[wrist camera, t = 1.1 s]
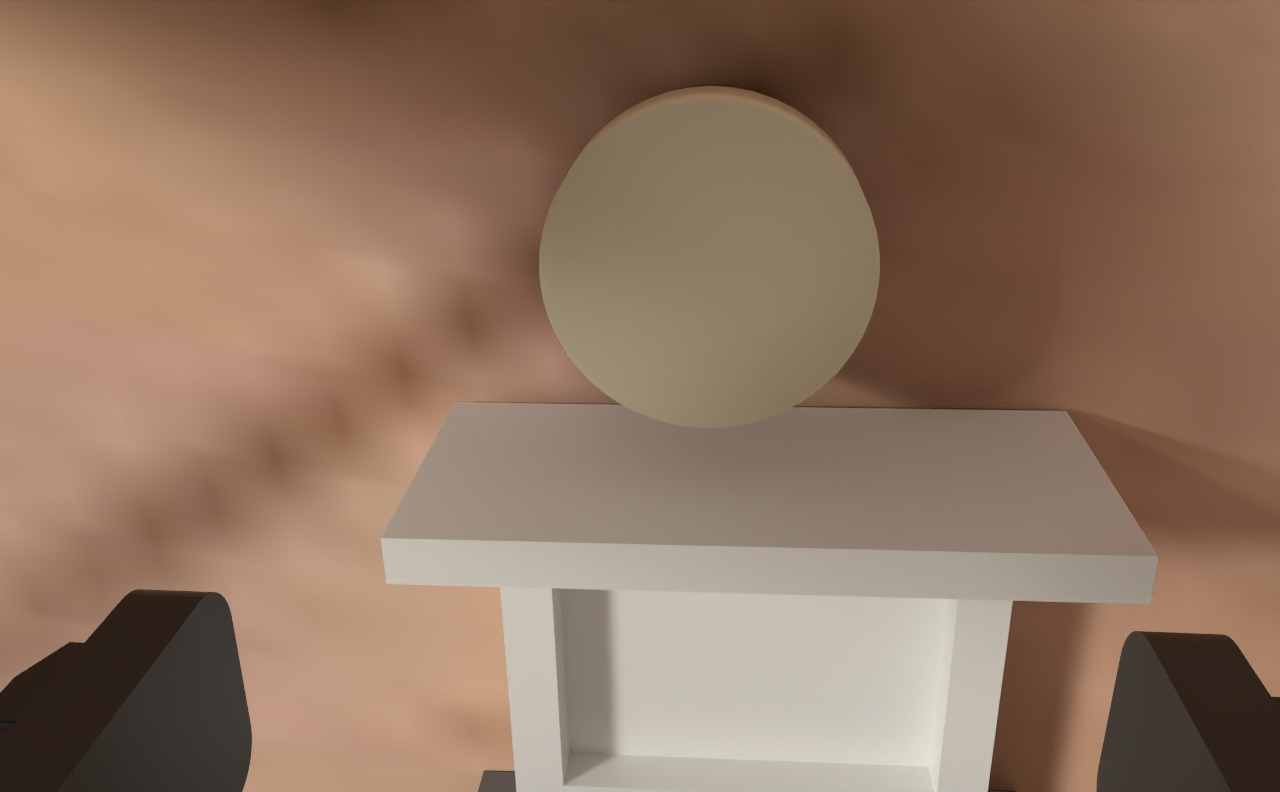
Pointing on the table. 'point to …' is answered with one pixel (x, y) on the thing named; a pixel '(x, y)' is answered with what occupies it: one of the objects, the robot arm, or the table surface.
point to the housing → (513, 782)
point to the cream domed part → (709, 258)
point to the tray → (762, 585)
